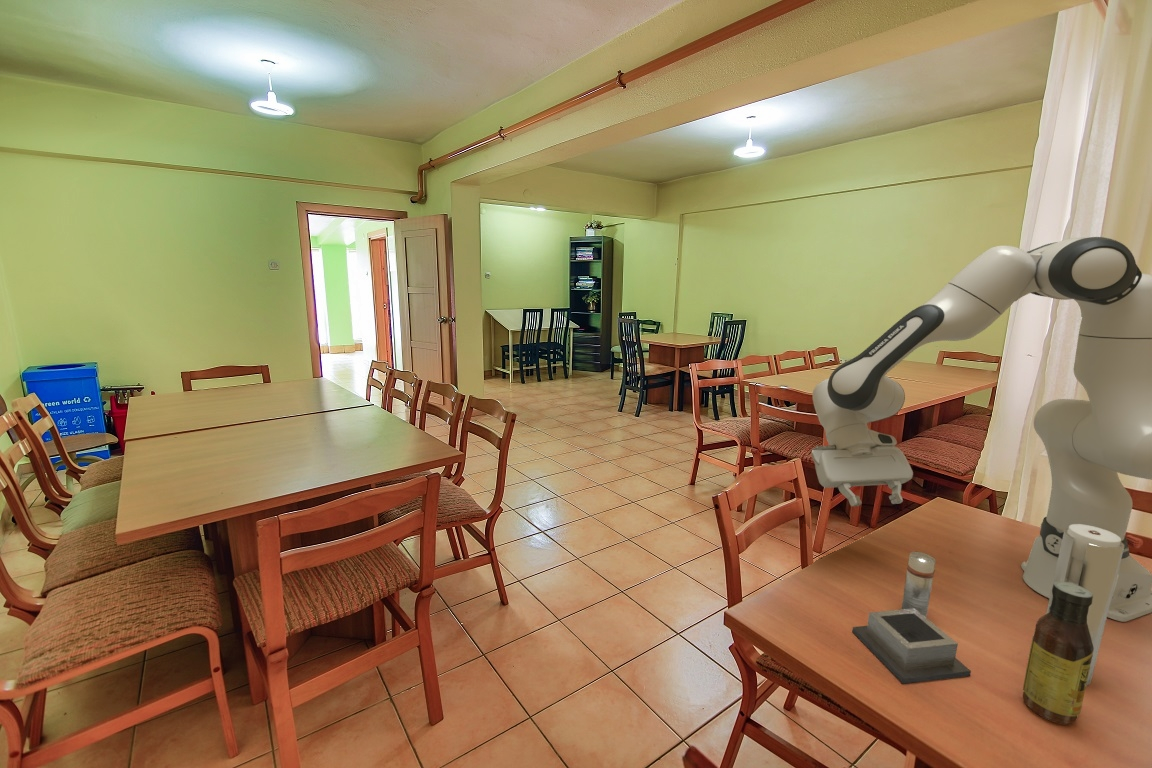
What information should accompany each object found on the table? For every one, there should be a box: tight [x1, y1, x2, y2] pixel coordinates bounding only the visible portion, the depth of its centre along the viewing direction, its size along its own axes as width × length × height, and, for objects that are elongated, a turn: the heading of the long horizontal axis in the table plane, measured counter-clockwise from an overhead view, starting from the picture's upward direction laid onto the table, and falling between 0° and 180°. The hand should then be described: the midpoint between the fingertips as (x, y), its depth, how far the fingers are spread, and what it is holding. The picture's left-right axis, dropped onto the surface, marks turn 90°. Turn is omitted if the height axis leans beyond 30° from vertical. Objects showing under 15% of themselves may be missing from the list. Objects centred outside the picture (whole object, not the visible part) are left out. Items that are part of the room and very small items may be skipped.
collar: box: [852, 608, 972, 685], centre depth 85 cm, size 12×12×5 cm
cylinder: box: [901, 551, 936, 618], centre depth 94 cm, size 4×4×12 cm
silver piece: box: [1045, 524, 1124, 687], centre depth 78 cm, size 6×6×25 cm
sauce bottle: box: [1022, 581, 1094, 726], centre depth 72 cm, size 6×6×20 cm
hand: (877, 504), depth 103 cm, fingers open, 8 cm apart
